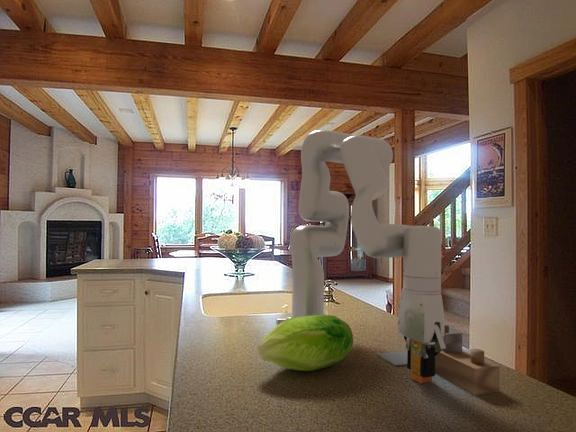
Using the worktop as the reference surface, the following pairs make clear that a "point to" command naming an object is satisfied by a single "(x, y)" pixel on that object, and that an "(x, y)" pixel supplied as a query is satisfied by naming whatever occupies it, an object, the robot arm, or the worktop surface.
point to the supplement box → (417, 362)
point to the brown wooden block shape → (466, 366)
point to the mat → (395, 358)
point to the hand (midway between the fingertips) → (420, 371)
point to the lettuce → (307, 342)
